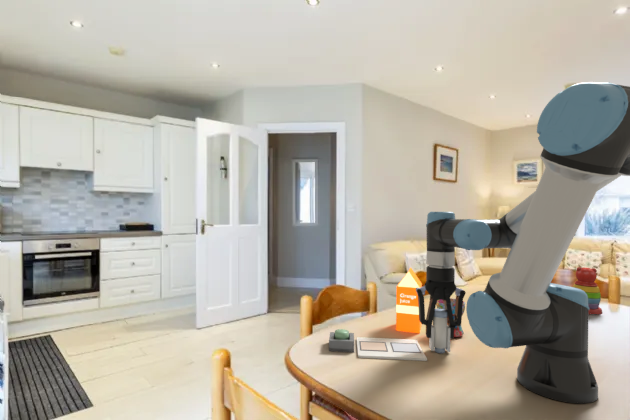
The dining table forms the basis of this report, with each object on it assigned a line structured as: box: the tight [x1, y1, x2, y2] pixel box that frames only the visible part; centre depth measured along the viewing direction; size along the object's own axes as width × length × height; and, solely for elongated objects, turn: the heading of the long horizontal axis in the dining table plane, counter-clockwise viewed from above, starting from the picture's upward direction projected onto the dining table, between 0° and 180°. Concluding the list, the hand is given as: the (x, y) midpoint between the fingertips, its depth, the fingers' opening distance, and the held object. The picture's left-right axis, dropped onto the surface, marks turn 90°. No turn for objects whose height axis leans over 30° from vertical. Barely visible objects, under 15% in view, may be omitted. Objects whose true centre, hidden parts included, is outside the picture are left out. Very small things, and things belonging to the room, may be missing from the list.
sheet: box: [356, 336, 428, 362], centre depth 102 cm, size 14×18×1 cm
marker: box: [432, 308, 447, 354], centre depth 101 cm, size 4×4×12 cm
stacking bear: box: [572, 266, 603, 315], centre depth 144 cm, size 11×10×18 cm
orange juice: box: [395, 267, 423, 334], centre depth 121 cm, size 8×9×20 cm
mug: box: [436, 297, 466, 338], centre depth 116 cm, size 12×9×11 cm
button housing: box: [328, 331, 355, 353], centre depth 103 cm, size 7×7×3 cm
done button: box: [334, 328, 350, 340], centre depth 103 cm, size 4×4×2 cm
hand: (439, 349), depth 101 cm, fingers closed on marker, 4 cm apart
